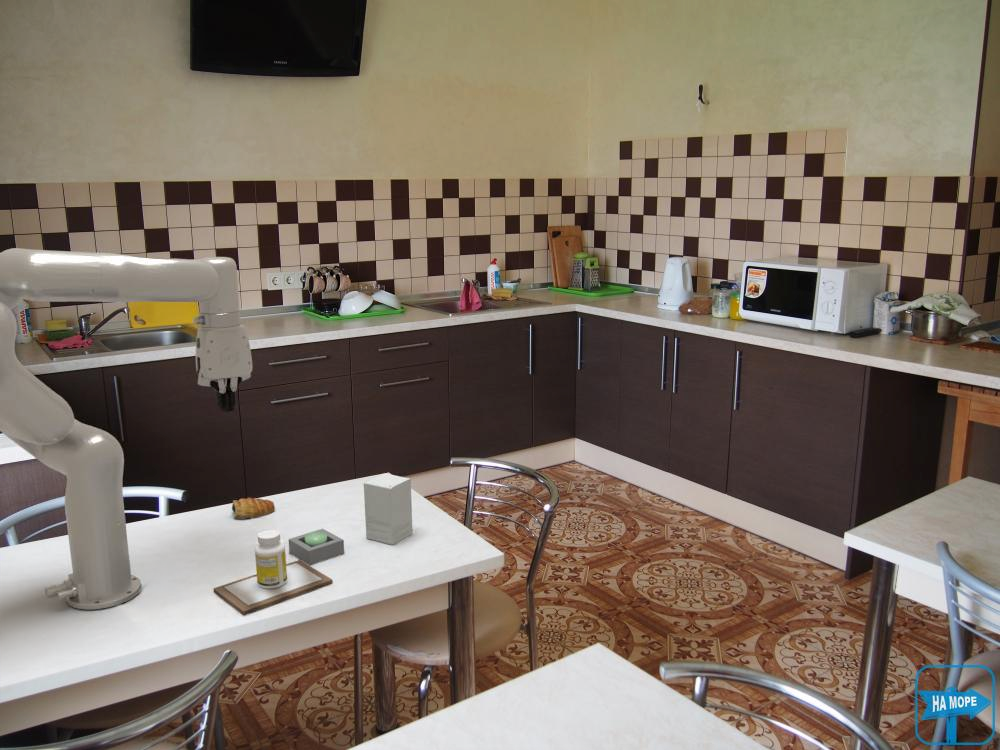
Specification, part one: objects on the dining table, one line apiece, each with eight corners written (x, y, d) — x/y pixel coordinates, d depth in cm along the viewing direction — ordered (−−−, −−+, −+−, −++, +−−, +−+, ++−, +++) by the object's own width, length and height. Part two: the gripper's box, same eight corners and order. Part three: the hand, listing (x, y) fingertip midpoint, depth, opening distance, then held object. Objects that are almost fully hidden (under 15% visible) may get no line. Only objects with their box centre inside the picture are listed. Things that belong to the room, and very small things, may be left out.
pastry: (271, 505, 202) (270, 490, 201) (277, 515, 196) (277, 499, 195) (230, 512, 198) (229, 496, 197) (235, 522, 192) (234, 506, 191)
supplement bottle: (275, 573, 164) (272, 525, 162) (293, 582, 160) (290, 533, 158) (251, 584, 160) (247, 534, 158) (269, 592, 156) (265, 542, 154)
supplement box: (413, 534, 185) (412, 478, 182) (391, 545, 179) (389, 488, 176) (387, 526, 189) (385, 472, 186) (364, 538, 183) (362, 482, 180)
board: (243, 615, 150) (243, 610, 150) (213, 592, 159) (213, 587, 158) (332, 583, 162) (332, 578, 162) (300, 563, 171) (299, 558, 170)
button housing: (309, 565, 170) (308, 551, 169) (289, 552, 176) (288, 539, 175) (344, 553, 175) (343, 539, 174) (323, 541, 181) (322, 528, 180)
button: (312, 551, 172) (311, 542, 172) (301, 545, 175) (300, 536, 175) (331, 545, 175) (331, 536, 174) (320, 539, 178) (319, 530, 178)
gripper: (191, 327, 161) (199, 421, 165) (264, 318, 171) (269, 407, 175) (175, 322, 167) (183, 413, 171) (246, 314, 177) (252, 400, 181)
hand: (227, 410), depth 173 cm, fingers closed
